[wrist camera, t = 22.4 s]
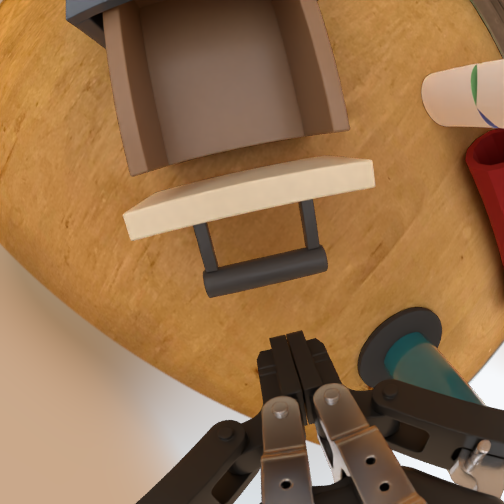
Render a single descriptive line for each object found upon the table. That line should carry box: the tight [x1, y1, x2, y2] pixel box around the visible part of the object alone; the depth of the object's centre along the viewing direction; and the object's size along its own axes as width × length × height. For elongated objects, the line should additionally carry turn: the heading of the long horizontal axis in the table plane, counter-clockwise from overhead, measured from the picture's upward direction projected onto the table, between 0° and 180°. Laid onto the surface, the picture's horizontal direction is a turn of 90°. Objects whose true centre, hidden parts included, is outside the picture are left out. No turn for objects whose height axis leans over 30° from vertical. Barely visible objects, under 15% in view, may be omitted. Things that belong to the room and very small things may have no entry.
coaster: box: [358, 307, 442, 388], centre depth 23 cm, size 9×9×1 cm
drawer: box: [103, 0, 375, 298], centre depth 12 cm, size 18×10×6 cm, turn 12°
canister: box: [384, 332, 486, 474], centre depth 17 cm, size 5×5×13 cm
